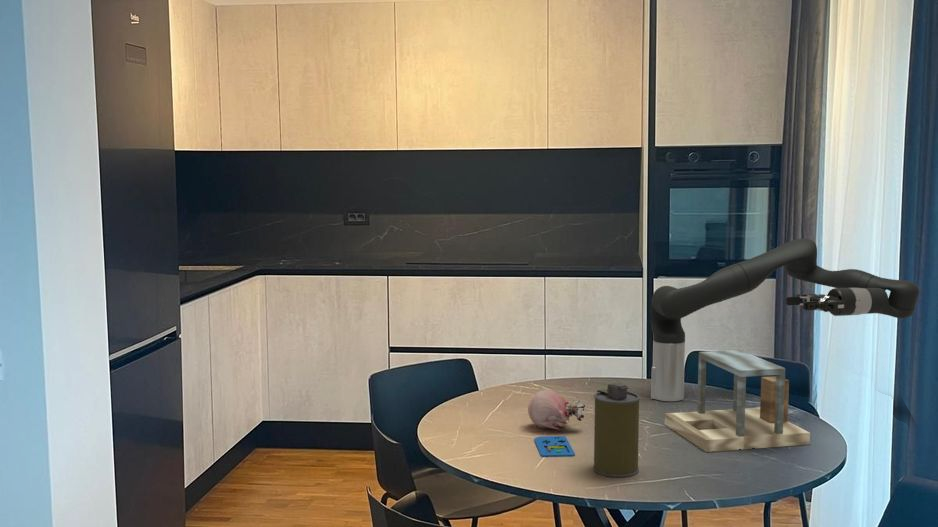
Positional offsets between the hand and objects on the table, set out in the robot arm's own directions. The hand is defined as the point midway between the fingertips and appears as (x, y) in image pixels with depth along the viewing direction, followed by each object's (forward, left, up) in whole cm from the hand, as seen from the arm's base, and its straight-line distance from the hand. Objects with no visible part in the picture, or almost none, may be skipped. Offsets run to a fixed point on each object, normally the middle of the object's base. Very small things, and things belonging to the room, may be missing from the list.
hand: (795, 303), depth 248 cm
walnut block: (-5, -13, -29) cm, 32 cm away
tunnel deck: (-13, -18, -32) cm, 39 cm away
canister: (-39, -55, -32) cm, 75 cm away
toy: (-59, -27, -32) cm, 73 cm away
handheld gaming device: (-56, -43, -33) cm, 78 cm away
